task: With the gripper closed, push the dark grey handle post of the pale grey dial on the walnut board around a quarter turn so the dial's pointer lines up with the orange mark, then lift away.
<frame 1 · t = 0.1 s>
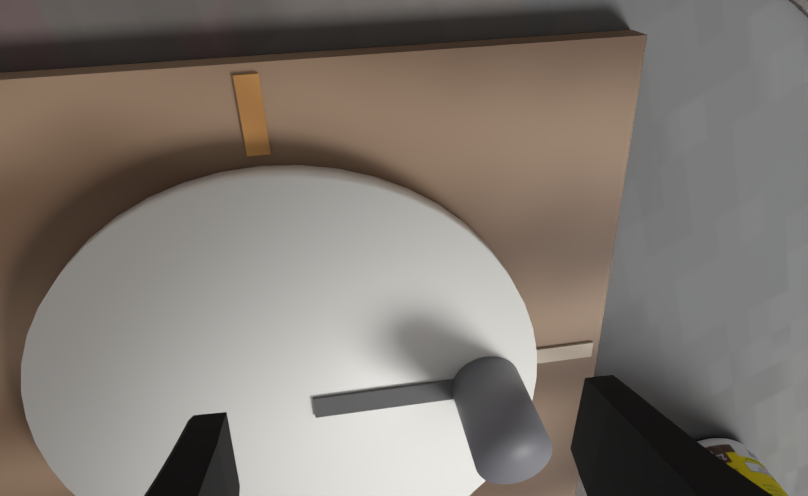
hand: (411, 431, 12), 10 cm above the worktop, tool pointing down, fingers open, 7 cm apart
dial board: (298, 368, 23), on the worktop
dial: (297, 434, 20), point 3 cm above the worktop, hinge at 0.0°
supplement bottle: (693, 468, 30), on the worktop
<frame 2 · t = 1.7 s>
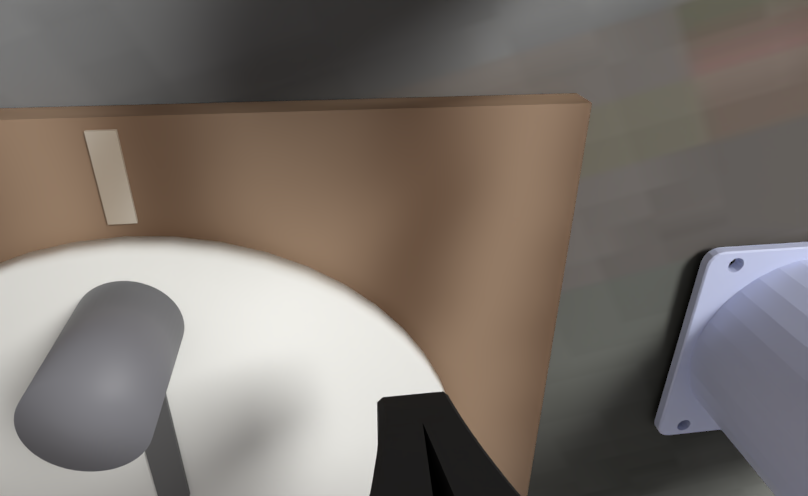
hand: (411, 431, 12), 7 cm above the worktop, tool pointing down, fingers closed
dial board: (190, 452, 20), on the worktop
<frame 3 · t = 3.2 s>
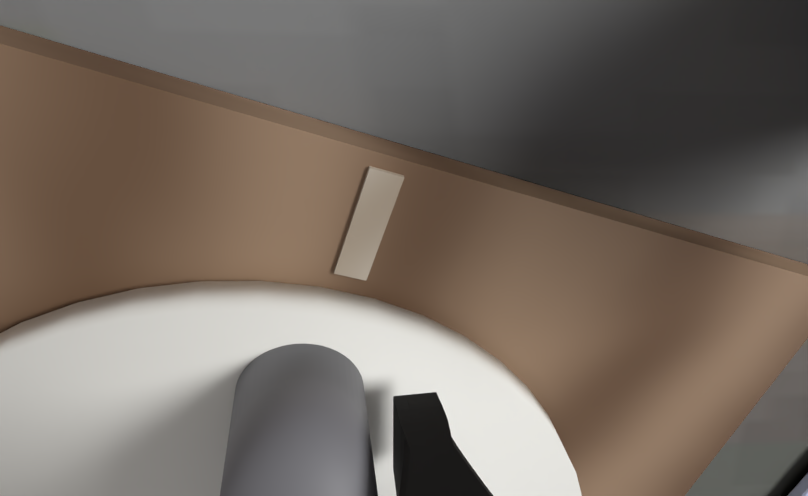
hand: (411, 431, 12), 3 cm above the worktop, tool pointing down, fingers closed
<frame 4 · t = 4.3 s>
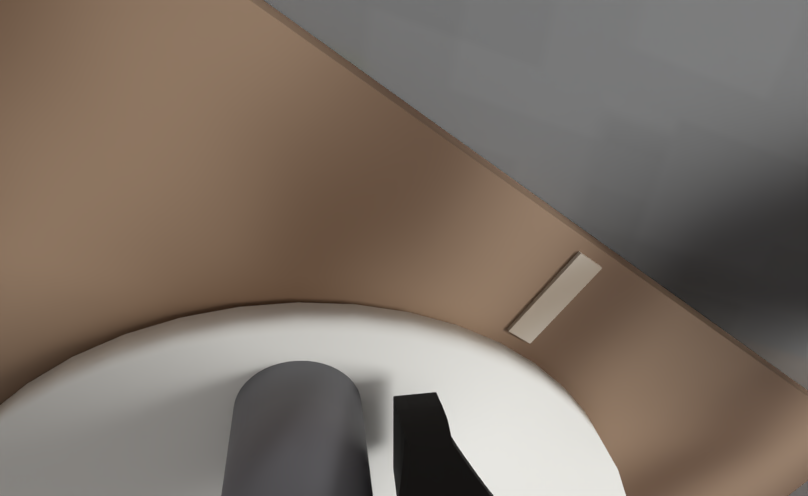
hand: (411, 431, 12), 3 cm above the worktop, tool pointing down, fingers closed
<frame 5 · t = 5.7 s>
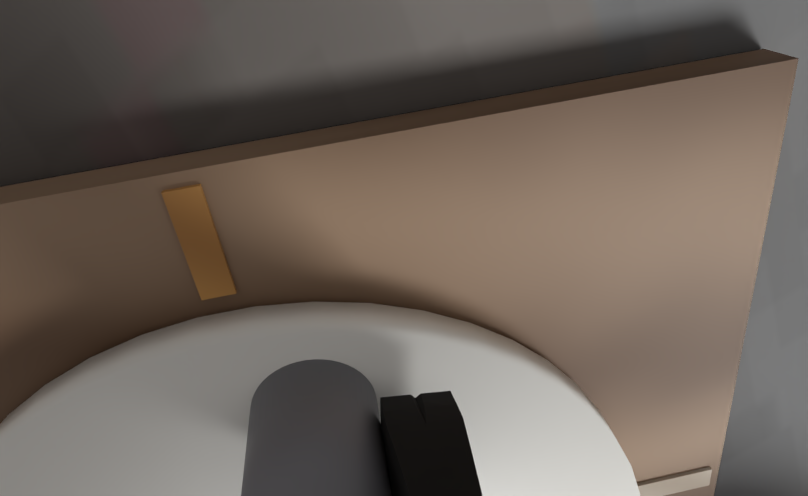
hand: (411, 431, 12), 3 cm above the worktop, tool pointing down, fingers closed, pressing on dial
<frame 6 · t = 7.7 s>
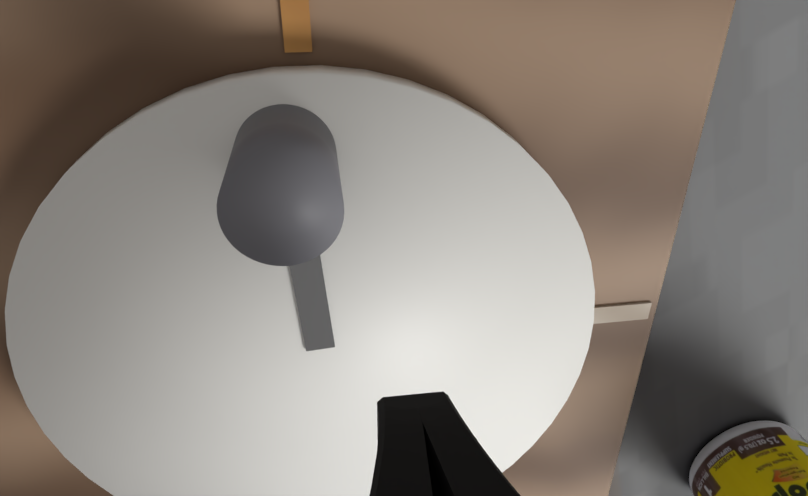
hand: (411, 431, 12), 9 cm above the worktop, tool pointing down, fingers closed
dial board: (321, 320, 21), on the worktop
dial: (324, 388, 18), point 3 cm above the worktop, hinge at 94.2°
supplement bottle: (735, 453, 28), on the worktop
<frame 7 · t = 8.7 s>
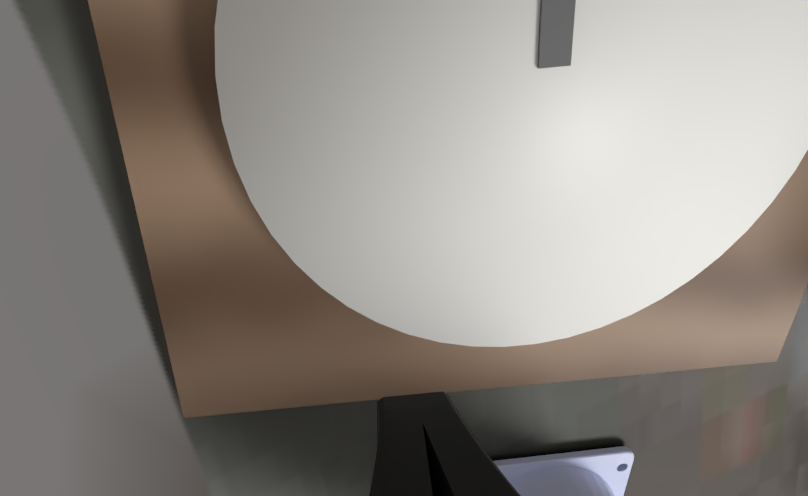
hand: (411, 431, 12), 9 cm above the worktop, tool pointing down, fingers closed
dial board: (526, 70, 18), on the worktop
dial: (569, 99, 15), point 3 cm above the worktop, hinge at 94.2°
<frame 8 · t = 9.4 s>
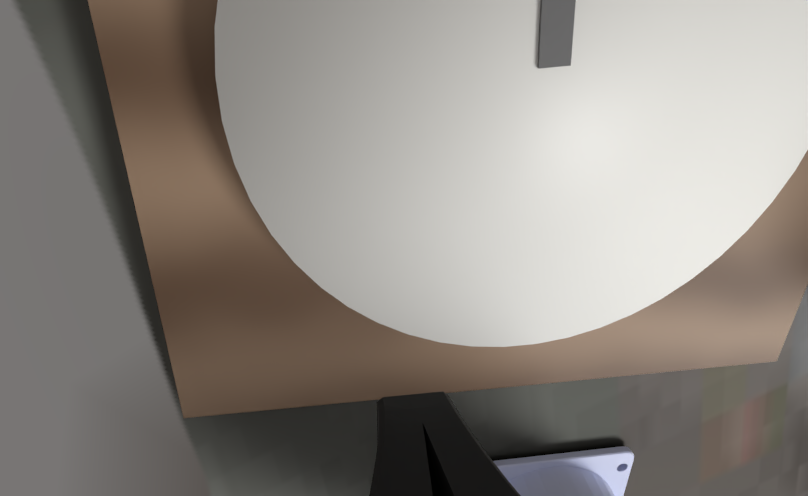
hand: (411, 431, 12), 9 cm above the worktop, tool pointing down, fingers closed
dial board: (526, 70, 18), on the worktop
dial: (569, 99, 15), point 3 cm above the worktop, hinge at 94.2°
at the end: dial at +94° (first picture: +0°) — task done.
